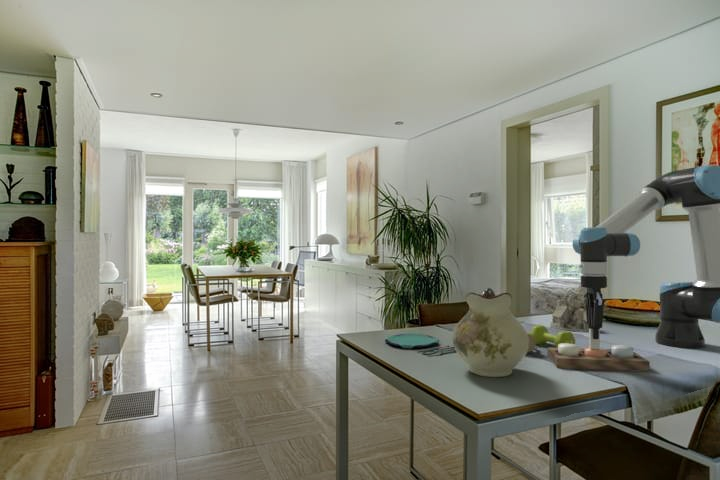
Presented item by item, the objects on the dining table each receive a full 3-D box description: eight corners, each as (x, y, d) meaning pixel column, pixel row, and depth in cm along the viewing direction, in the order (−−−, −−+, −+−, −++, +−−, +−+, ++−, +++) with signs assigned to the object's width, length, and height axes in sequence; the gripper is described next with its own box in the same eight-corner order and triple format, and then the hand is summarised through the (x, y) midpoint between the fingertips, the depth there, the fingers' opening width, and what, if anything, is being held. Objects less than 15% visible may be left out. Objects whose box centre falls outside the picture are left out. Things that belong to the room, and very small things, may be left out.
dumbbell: (578, 351, 157) (577, 331, 157) (560, 354, 154) (560, 333, 155) (543, 342, 173) (543, 323, 173) (527, 344, 170) (527, 325, 170)
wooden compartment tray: (631, 359, 146) (630, 350, 146) (649, 371, 133) (649, 361, 133) (547, 356, 152) (547, 347, 152) (557, 367, 138) (557, 358, 138)
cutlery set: (417, 336, 187) (417, 330, 187) (466, 352, 161) (466, 346, 161) (377, 342, 178) (377, 336, 178) (421, 361, 151) (421, 354, 151)
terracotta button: (602, 359, 144) (601, 347, 144) (608, 364, 139) (608, 351, 139) (582, 358, 146) (582, 346, 146) (587, 363, 140) (587, 351, 140)
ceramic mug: (521, 355, 153) (521, 333, 153) (504, 350, 161) (504, 329, 161) (543, 352, 158) (543, 330, 158) (526, 347, 165) (525, 326, 165)
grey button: (629, 357, 143) (628, 345, 143) (636, 362, 137) (636, 349, 137) (608, 356, 144) (608, 344, 144) (615, 361, 138) (615, 349, 138)
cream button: (575, 355, 146) (575, 343, 146) (581, 360, 140) (580, 347, 140) (556, 355, 147) (556, 343, 147) (560, 359, 141) (560, 347, 141)
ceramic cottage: (545, 325, 203) (547, 293, 202) (578, 325, 205) (580, 293, 205) (565, 335, 188) (567, 300, 187) (600, 335, 190) (602, 300, 189)
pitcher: (484, 386, 121) (483, 295, 121) (436, 365, 142) (436, 288, 143) (546, 376, 130) (544, 291, 130) (492, 358, 151) (491, 285, 152)
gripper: (575, 273, 149) (576, 343, 149) (587, 276, 137) (588, 353, 136) (599, 273, 148) (600, 344, 148) (613, 276, 135) (614, 354, 135)
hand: (594, 348), depth 142 cm, fingers closed
